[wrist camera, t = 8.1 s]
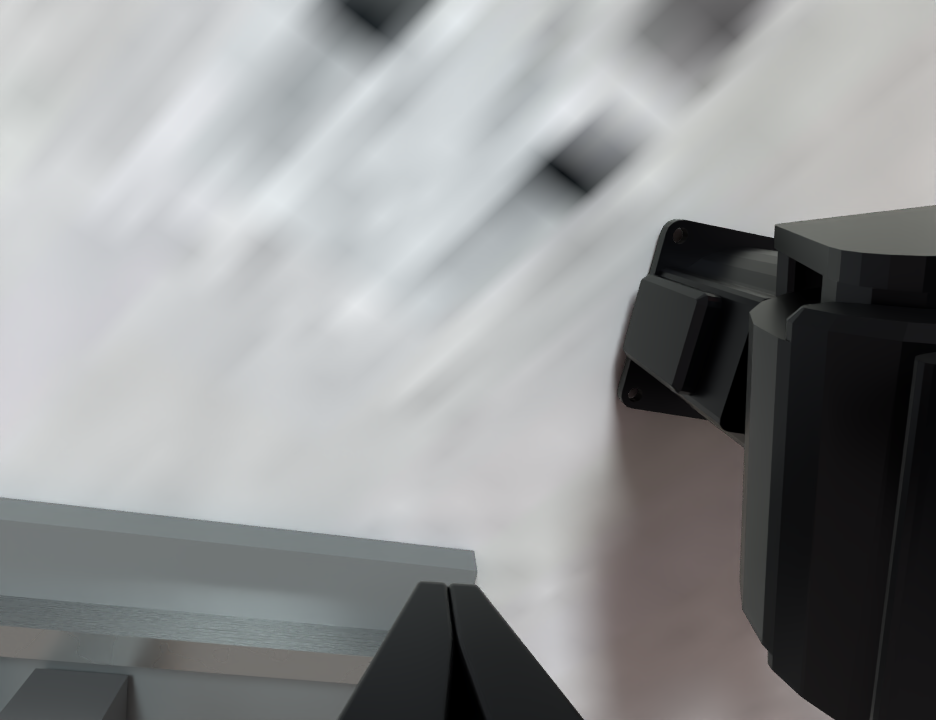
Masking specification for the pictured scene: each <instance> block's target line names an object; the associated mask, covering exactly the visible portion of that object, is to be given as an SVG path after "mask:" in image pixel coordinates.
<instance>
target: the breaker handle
mask: <svg viewBox="0 0 936 720" xmlns="http://www.w3.org/2000/svg"><path fill="white" fill-rule="evenodd" d="M127 688H128V675H119V674H106V673H93V672H80V671H66V670H53V669H40V668H35V670H34V671H33V672H32V673H31V675H30V676H29V677H28V678H27V680H26V681H25V682H24V683H23V685H22V686H21V687H20V688H19V690H18V691H17V692H16V694H15V695H14V696H13V697H12V699H11V700H10V701H9V702H8V704H7V705H6V706H5V707H4V709H3V710H2V711H1V712H0V720H126V711H127Z"/></svg>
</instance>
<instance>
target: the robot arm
mask: <svg viewBox="0 0 936 720" xmlns="http://www.w3.org/2000/svg"><path fill="white" fill-rule="evenodd" d="M678 228H680V229H681V230H682V238H681V239H680V240H679V241H678V242H674V240H673V233H674V231H675V230H676V229H678ZM623 350H624V352H625V353H626V355H627V357H626V361H625V365H624V368H623V372H622V375H621V379H620V383H619V386H618V397H619V399H620V400H621V401H622V402H623V403H624V404H625V405H626V406H627V407H630V408H634V409H640V410H647V411H653V412H660V413H666V414H673V415H679V416H686V417H692V418H699V419H705V420H709V421H710V422H711V423H713V424H714V425H715V426H717V427H718V428H719V429H720V430H722V431H723V432H724V433H726V434H727V435H728V436H729V437H731V438H732V439H733V440H735V441H736V442H737V443H739V444H740V445H741V446H742V447H744V474H743V501H742V529H741V556H740V590H741V600H742V610H743V612H744V613H745V615H746V617H747V619H748V620H749V622H750V624H751V626H752V627H753V629H754V631H755V633H756V634H757V636H758V638H759V640H760V641H761V643H762V645H763V646H764V647H765V648H766V649H767V650H768V664H769V666H770V667H771V669H772V670H773V671H774V672H775V673H776V674H777V675H778V676H779V677H780V678H781V679H783V680H784V681H785V682H786V683H787V684H788V685H789V686H790V687H791V688H792V689H793V690H794V691H795V692H796V693H798V694H799V695H800V696H801V697H802V698H804V699H805V700H807V701H808V702H809V703H811V704H812V705H814V706H815V707H817V708H818V709H820V710H821V711H823V712H824V713H826V714H827V715H829V716H830V717H832V718H833V719H835V720H936V205H933V206H924V207H916V208H908V209H899V210H891V211H882V212H874V213H866V214H857V215H849V216H840V217H832V218H823V219H815V220H807V221H798V222H790V223H781V224H776V225H775V233H774V238H770V237H766V236H761V235H756V234H751V233H746V232H741V231H736V230H731V229H727V228H722V227H717V226H712V225H707V224H702V223H697V222H693V221H688V220H681V219H673V220H671V221H669V222H667V223H666V224H665V225H664V226H663V228H662V230H661V233H660V237H659V240H658V244H657V248H656V251H655V255H654V259H653V262H652V266H651V270H650V273H649V275H647V276H646V277H644V278H643V279H642V280H641V283H640V287H639V290H638V294H637V298H636V301H635V305H634V309H633V312H632V316H631V320H630V324H629V327H628V331H627V335H626V338H625V342H624V346H623ZM633 388H638V393H637V395H636V396H634V397H633V398H628V393H629V392H630V390H632V389H633ZM337 720H584V719H583V718H582V717H581V715H580V714H579V713H578V712H577V710H576V709H575V708H574V707H573V705H572V704H571V703H570V701H569V700H568V699H567V698H566V696H565V695H564V694H563V693H562V691H561V690H560V689H559V688H558V686H557V685H556V684H555V683H554V681H553V680H552V679H551V678H550V676H549V675H548V674H547V673H546V671H545V670H544V669H543V667H542V666H541V665H540V664H539V662H538V661H537V660H536V659H535V657H534V656H533V655H532V654H531V652H530V651H529V650H528V649H527V647H526V646H525V645H524V644H523V642H522V641H521V640H520V639H519V637H518V636H517V635H516V633H515V632H514V631H513V630H512V628H511V627H510V626H509V625H508V623H507V622H506V621H505V620H504V618H503V617H502V616H501V615H500V613H499V612H498V611H497V610H496V608H495V607H494V606H493V605H492V603H491V602H490V601H489V599H488V598H487V597H486V596H485V594H484V593H483V592H482V591H481V589H480V588H479V587H478V586H477V585H475V584H464V583H450V584H449V585H448V587H447V585H446V584H445V583H444V582H434V581H419V582H418V583H417V584H416V586H415V587H414V589H413V591H412V593H411V594H410V596H409V598H408V599H407V601H406V603H405V604H404V606H403V608H402V610H401V611H400V613H399V615H398V616H397V618H396V620H395V621H394V623H393V625H392V627H391V628H390V630H389V632H388V633H387V635H386V637H385V638H384V640H383V642H382V644H381V645H380V647H379V649H378V650H377V652H376V654H375V655H374V657H373V659H372V661H371V662H370V664H369V666H368V667H367V669H366V671H365V673H364V674H363V676H362V678H361V679H360V681H359V683H358V684H357V686H356V688H355V690H354V691H353V693H352V695H351V696H350V698H349V700H348V701H347V703H346V705H345V707H344V708H343V710H342V712H341V713H340V715H339V717H338V718H337Z"/></svg>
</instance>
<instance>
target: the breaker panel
mask: <svg viewBox="0 0 936 720" xmlns="http://www.w3.org/2000/svg"><path fill="white" fill-rule="evenodd" d="M476 575H477V566H476V560H475V554H474V551H470V550H461V549H452V548H443V547H434V546H425V545H416V544H408V543H399V542H390V541H381V540H372V539H363V538H354V537H345V536H337V535H328V534H319V533H310V532H301V531H292V530H283V529H275V528H266V527H257V526H248V525H239V524H230V523H221V522H212V521H204V520H195V519H186V518H177V517H168V516H159V515H150V514H142V513H133V512H124V511H115V510H106V509H97V508H88V507H79V506H71V505H62V504H53V503H44V502H35V501H26V500H17V499H9V498H0V712H1V711H2V710H3V709H4V707H5V706H6V705H7V704H8V702H9V701H10V700H11V699H12V697H13V696H14V695H15V694H16V692H17V691H18V690H19V688H20V687H21V686H22V685H23V683H24V682H25V681H26V680H27V678H28V677H29V676H30V675H31V673H32V672H33V671H34V670H35V668H40V669H53V670H66V671H80V672H93V673H106V674H119V675H128V688H127V711H126V720H337V718H338V717H339V715H340V713H341V712H342V710H343V708H344V707H345V705H346V703H347V701H348V700H349V698H350V696H351V695H352V693H353V691H354V690H355V688H356V686H357V684H358V683H359V681H360V679H361V678H362V676H363V674H364V673H365V671H366V669H367V667H368V666H369V664H370V662H371V661H372V659H373V657H374V655H375V654H376V652H377V650H378V649H379V647H380V645H381V644H382V642H383V640H384V638H385V637H386V635H387V633H388V632H389V630H390V628H391V627H392V625H393V623H394V621H395V620H396V618H397V616H398V615H399V613H400V611H401V610H402V608H403V606H404V604H405V603H406V601H407V599H408V598H409V596H410V594H411V593H412V591H413V589H414V587H415V586H416V584H417V583H418V582H419V581H434V582H444V583H445V584H446V585H447V587H448V585H449V584H450V583H464V584H475V579H476Z"/></svg>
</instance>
